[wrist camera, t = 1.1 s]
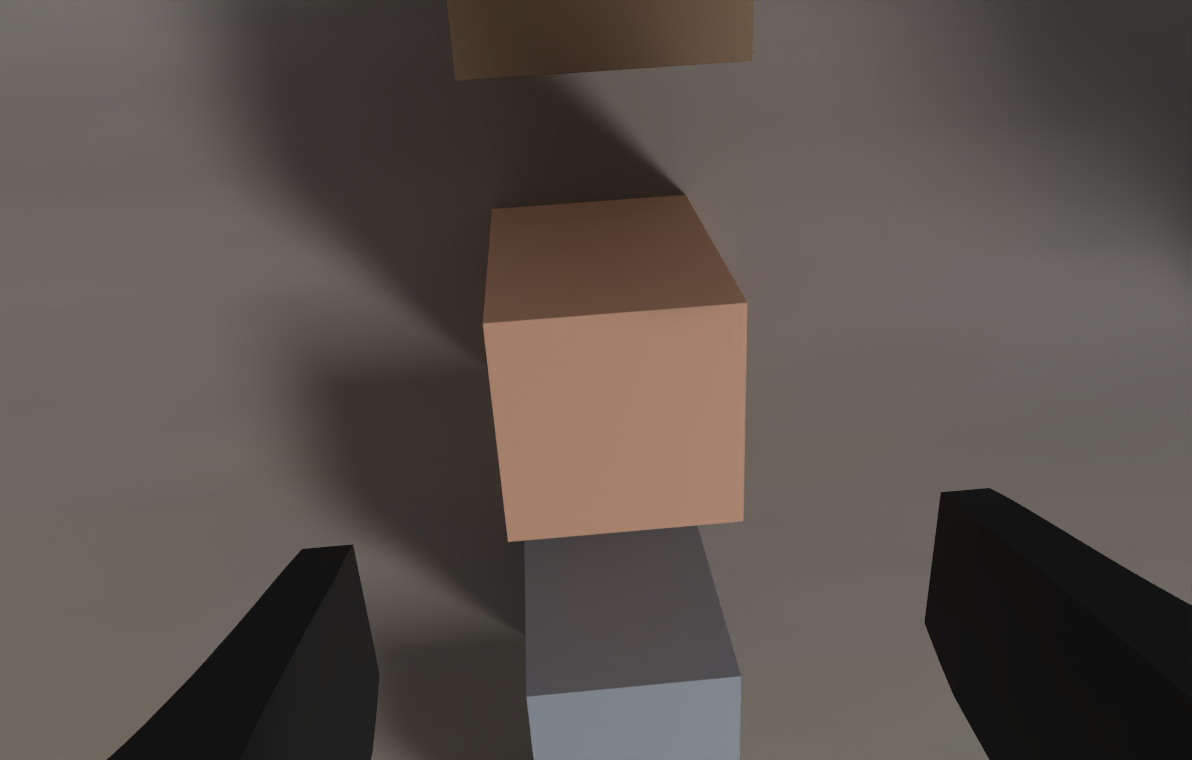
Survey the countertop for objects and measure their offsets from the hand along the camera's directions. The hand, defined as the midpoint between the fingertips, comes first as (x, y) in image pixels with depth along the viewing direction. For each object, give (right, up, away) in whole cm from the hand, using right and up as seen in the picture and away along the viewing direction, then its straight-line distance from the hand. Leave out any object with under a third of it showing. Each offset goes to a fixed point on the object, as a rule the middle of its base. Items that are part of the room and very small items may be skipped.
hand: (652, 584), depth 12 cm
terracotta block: (-1, +4, +9) cm, 10 cm away
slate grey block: (0, -2, +12) cm, 12 cm away
